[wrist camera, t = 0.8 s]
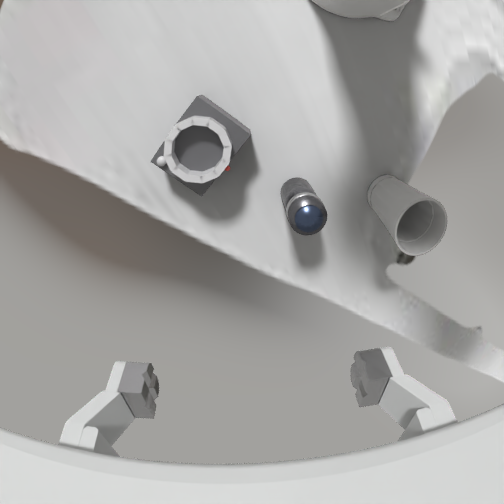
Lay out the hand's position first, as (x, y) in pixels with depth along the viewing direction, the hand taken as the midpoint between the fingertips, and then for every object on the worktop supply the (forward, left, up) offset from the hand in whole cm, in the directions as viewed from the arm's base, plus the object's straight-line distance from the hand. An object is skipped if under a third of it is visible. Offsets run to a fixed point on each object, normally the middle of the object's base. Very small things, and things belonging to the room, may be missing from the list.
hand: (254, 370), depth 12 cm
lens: (-1, +9, -36) cm, 37 cm away
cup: (-10, +20, -36) cm, 42 cm away
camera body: (+1, -6, -36) cm, 36 cm away
